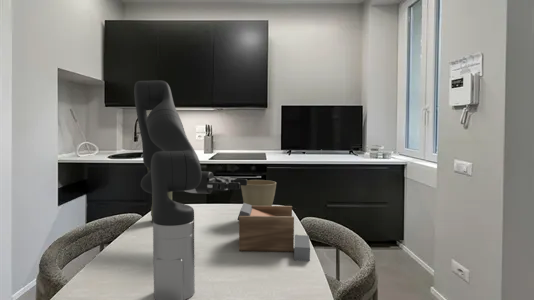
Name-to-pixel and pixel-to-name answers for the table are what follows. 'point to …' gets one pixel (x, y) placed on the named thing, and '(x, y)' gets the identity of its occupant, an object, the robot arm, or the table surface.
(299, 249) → the basalt block
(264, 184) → the plant pot
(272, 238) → the walnut frame
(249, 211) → the trapdoor
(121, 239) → the table surface
